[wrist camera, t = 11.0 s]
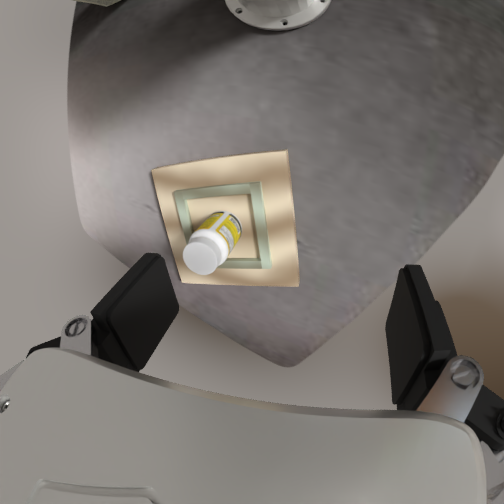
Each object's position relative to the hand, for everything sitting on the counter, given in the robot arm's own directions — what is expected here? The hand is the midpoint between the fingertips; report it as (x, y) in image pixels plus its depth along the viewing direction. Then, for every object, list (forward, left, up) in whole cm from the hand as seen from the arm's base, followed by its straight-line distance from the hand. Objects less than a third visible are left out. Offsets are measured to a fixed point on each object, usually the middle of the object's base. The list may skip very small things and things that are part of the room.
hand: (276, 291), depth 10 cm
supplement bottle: (+7, -11, -23) cm, 26 cm away
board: (+7, -12, -24) cm, 27 cm away
